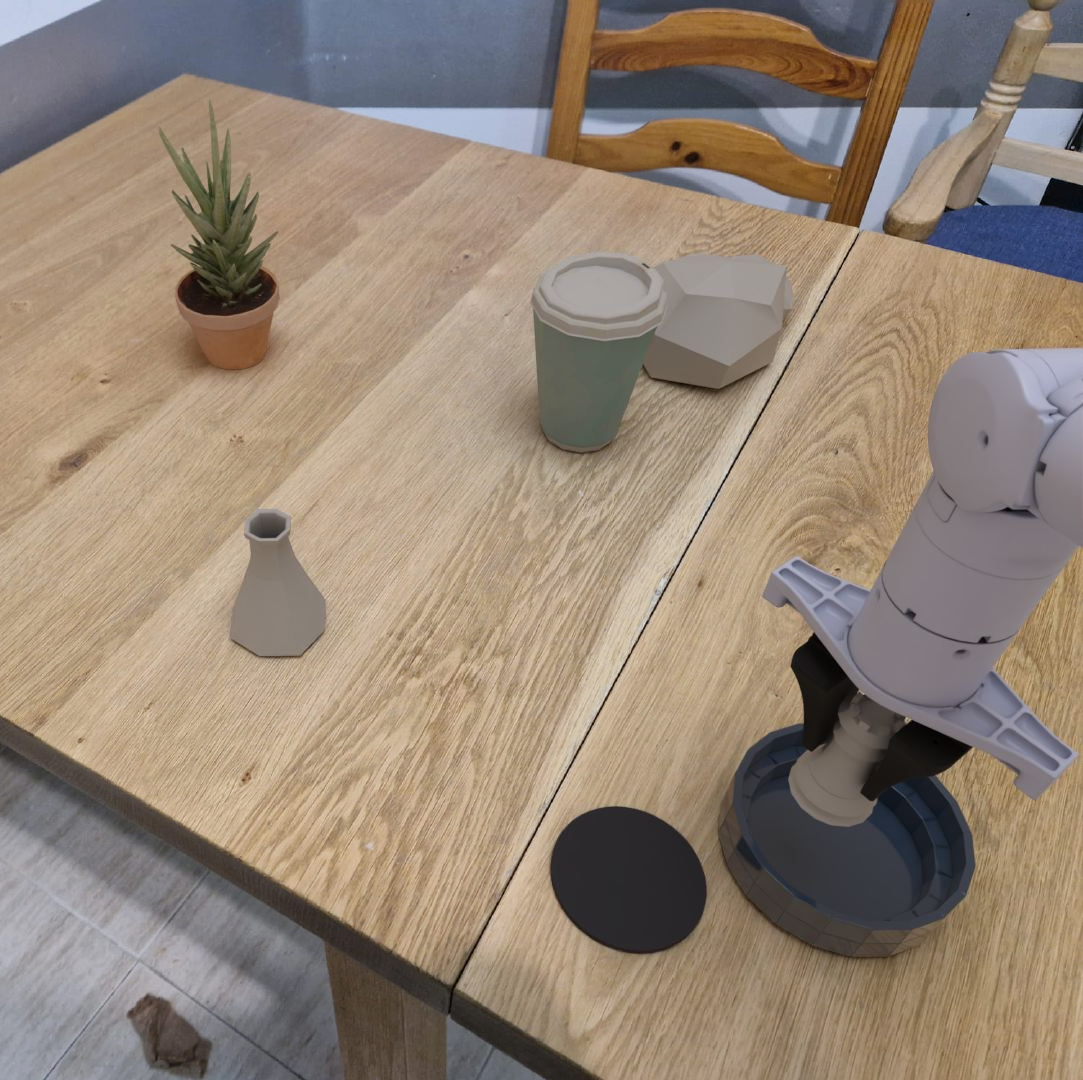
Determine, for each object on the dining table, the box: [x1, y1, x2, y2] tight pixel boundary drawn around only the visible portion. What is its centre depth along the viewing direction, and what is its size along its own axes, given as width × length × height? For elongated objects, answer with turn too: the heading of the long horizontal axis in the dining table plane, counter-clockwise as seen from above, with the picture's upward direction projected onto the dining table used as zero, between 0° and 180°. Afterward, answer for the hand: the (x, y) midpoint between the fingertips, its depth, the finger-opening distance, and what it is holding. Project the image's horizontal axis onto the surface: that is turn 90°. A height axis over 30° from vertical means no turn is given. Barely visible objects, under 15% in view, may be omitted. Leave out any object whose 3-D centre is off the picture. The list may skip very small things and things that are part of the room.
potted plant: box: [156, 98, 281, 370], centre depth 89 cm, size 10×10×25 cm
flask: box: [229, 508, 327, 657], centre depth 70 cm, size 7×7×10 cm
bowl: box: [718, 722, 977, 958], centre depth 59 cm, size 13×13×4 cm
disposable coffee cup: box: [529, 250, 667, 454], centre depth 83 cm, size 11×11×15 cm
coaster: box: [550, 805, 707, 954], centre depth 59 cm, size 9×9×1 cm
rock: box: [642, 252, 794, 390], centre depth 94 cm, size 18×20×10 cm
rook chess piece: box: [788, 691, 907, 827], centre depth 52 cm, size 4×4×8 cm
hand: (847, 763), depth 53 cm, fingers closed on rook chess piece, 3 cm apart
